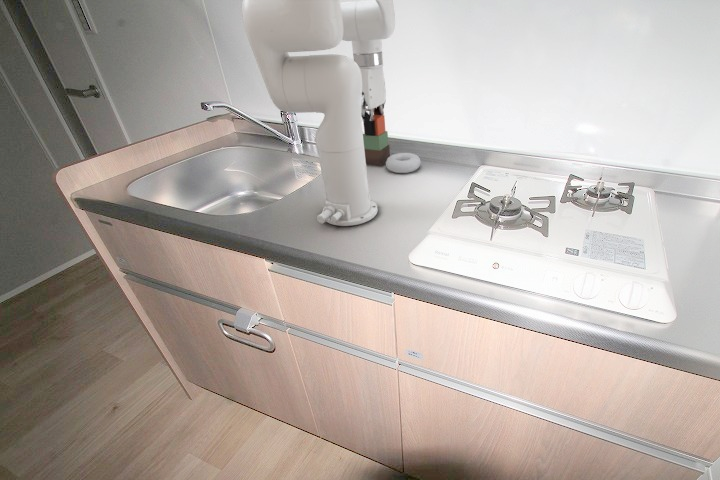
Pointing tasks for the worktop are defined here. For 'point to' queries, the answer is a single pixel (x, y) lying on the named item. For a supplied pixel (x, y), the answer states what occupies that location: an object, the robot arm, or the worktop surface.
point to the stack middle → (375, 141)
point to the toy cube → (379, 124)
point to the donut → (403, 162)
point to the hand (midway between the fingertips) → (374, 131)
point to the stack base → (377, 156)
